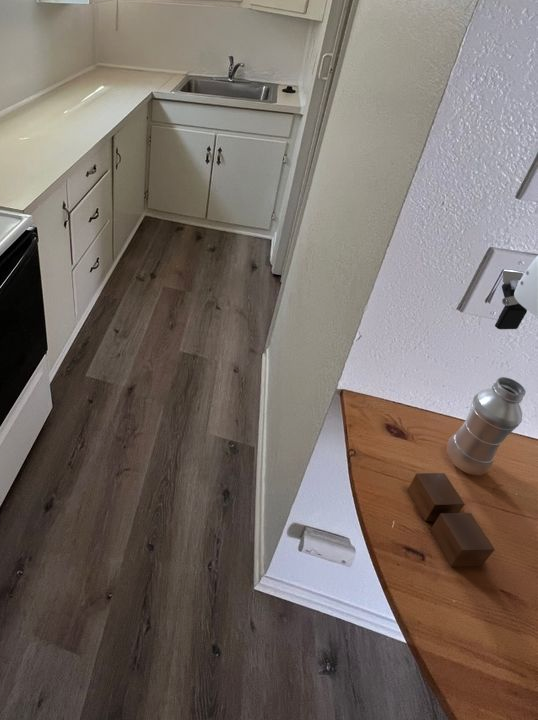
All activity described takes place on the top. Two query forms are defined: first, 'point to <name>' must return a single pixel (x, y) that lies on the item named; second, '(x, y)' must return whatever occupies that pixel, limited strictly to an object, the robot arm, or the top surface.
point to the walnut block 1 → (434, 495)
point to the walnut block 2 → (461, 539)
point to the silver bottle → (486, 426)
